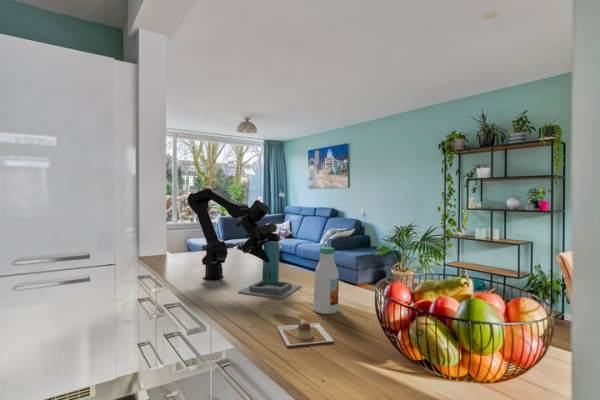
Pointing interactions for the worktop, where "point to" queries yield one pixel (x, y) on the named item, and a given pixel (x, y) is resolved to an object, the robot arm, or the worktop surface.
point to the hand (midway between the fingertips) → (273, 260)
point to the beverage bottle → (271, 260)
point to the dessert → (304, 332)
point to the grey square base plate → (270, 289)
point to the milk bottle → (326, 283)
